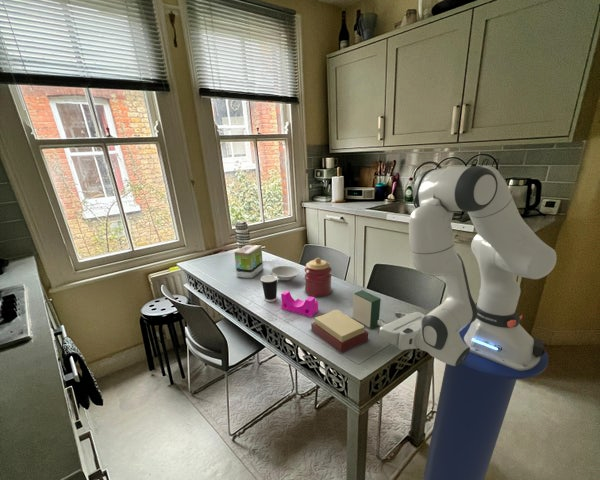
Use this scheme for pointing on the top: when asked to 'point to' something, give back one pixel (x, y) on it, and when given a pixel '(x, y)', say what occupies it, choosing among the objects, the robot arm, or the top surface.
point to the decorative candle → (242, 234)
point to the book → (366, 309)
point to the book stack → (339, 330)
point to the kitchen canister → (318, 278)
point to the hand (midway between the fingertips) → (387, 317)
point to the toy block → (299, 304)
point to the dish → (285, 272)
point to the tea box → (248, 261)
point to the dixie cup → (269, 287)
